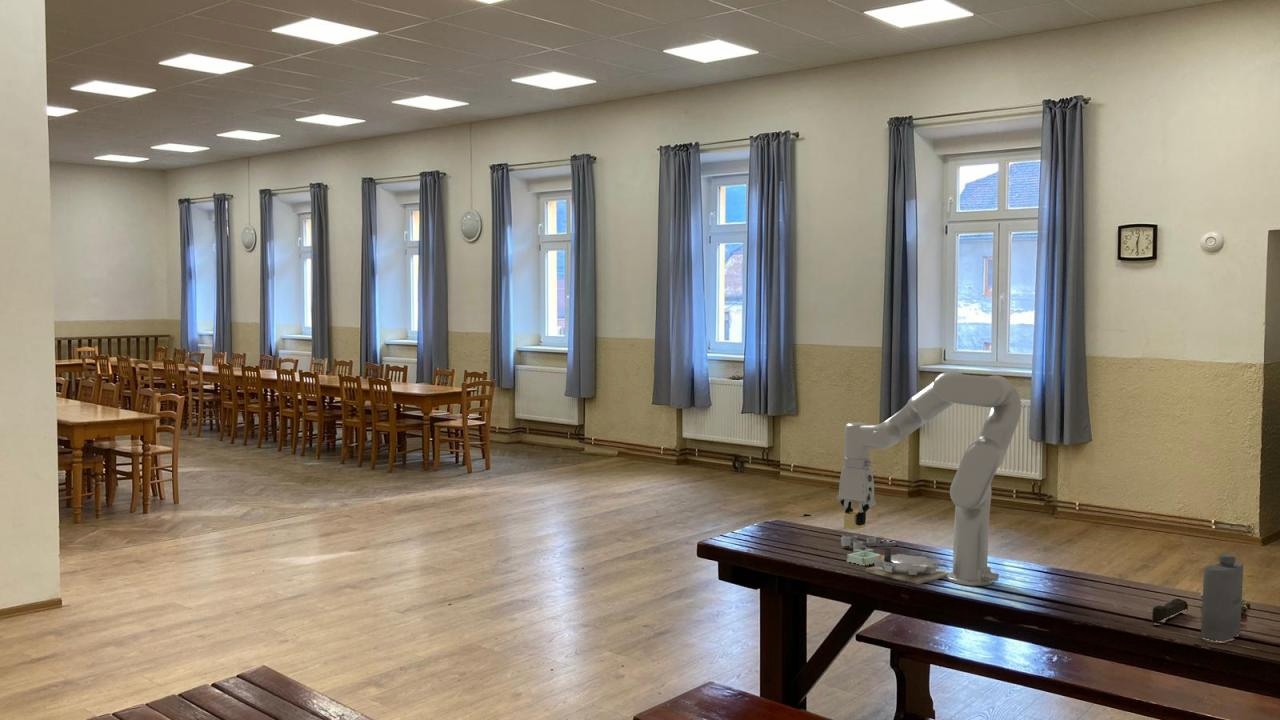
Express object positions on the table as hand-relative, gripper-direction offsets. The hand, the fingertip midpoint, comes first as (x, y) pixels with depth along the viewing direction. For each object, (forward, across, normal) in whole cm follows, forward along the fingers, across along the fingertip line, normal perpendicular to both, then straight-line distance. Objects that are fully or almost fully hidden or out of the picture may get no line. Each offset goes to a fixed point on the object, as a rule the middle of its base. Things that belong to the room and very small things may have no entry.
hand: (855, 523), depth 321 cm
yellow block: (+1, 0, 0) cm, 1 cm away
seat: (+13, +1, -7) cm, 15 cm away
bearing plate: (+13, -16, -4) cm, 21 cm away
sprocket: (+11, -16, -4) cm, 20 cm away
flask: (+14, -100, -10) cm, 101 cm away
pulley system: (+14, +13, -24) cm, 31 cm away
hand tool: (+14, -86, -15) cm, 88 cm away
